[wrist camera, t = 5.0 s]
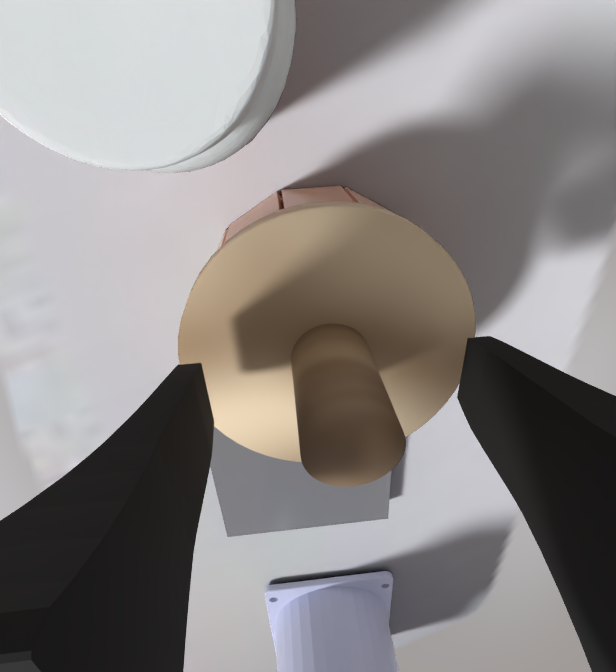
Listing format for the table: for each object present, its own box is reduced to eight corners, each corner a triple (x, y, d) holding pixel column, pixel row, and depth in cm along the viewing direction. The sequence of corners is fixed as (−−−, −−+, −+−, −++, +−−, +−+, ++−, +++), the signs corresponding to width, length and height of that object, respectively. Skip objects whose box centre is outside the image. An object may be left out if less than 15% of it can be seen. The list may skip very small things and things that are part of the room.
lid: (444, 434, 16) (505, 547, 12) (208, 457, 15) (189, 583, 11) (488, 190, 11) (609, 243, 7) (152, 211, 11) (86, 279, 7)
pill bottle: (295, -38, 11) (356, -295, 4) (271, 154, 13) (280, 226, 6) (105, -88, 10) (-288, -540, 3) (115, 126, 12) (-92, 169, 5)
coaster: (383, 502, 23) (387, 518, 22) (229, 519, 22) (227, 536, 21) (391, 378, 18) (397, 392, 17) (200, 397, 18) (197, 412, 17)
